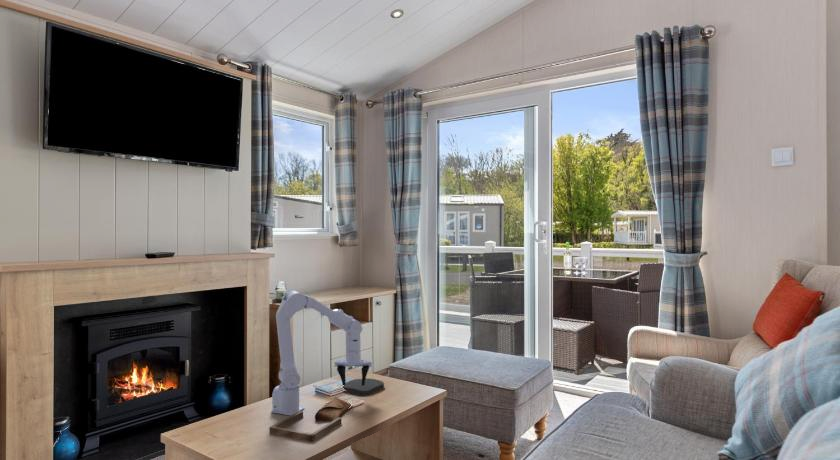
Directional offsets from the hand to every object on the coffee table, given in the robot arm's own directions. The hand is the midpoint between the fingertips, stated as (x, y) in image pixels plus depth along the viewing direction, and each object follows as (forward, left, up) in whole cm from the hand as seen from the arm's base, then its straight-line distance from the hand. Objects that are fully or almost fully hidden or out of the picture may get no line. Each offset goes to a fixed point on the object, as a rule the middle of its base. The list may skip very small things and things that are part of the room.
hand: (353, 384), depth 197 cm
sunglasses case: (+1, -14, -7) cm, 16 cm away
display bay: (0, -30, -6) cm, 31 cm away
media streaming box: (-4, +14, -7) cm, 16 cm away
